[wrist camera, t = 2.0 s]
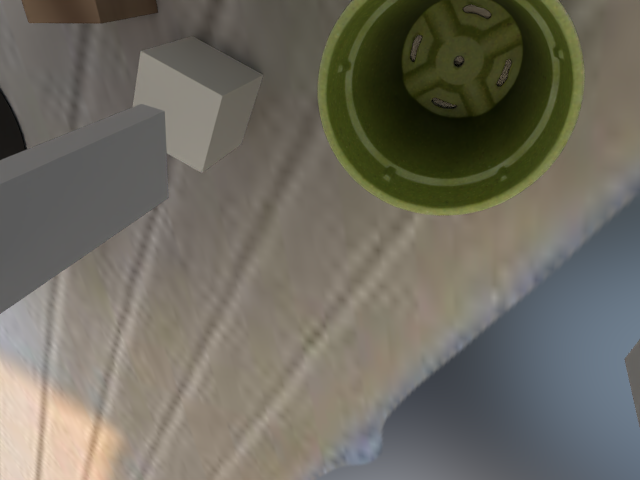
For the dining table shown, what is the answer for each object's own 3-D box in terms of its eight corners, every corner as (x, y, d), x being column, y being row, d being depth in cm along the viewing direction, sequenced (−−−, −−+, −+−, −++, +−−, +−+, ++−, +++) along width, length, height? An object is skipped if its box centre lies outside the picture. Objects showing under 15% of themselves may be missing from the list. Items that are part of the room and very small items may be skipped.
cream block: (178, 108, 32) (129, 132, 28) (193, 35, 29) (140, 50, 25) (242, 143, 31) (201, 173, 27) (263, 74, 28) (222, 96, 24)
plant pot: (395, -69, 22) (341, -74, 15) (602, -26, 21) (644, -11, 14) (355, 119, 28) (301, 177, 21) (516, 165, 26) (516, 246, 19)
